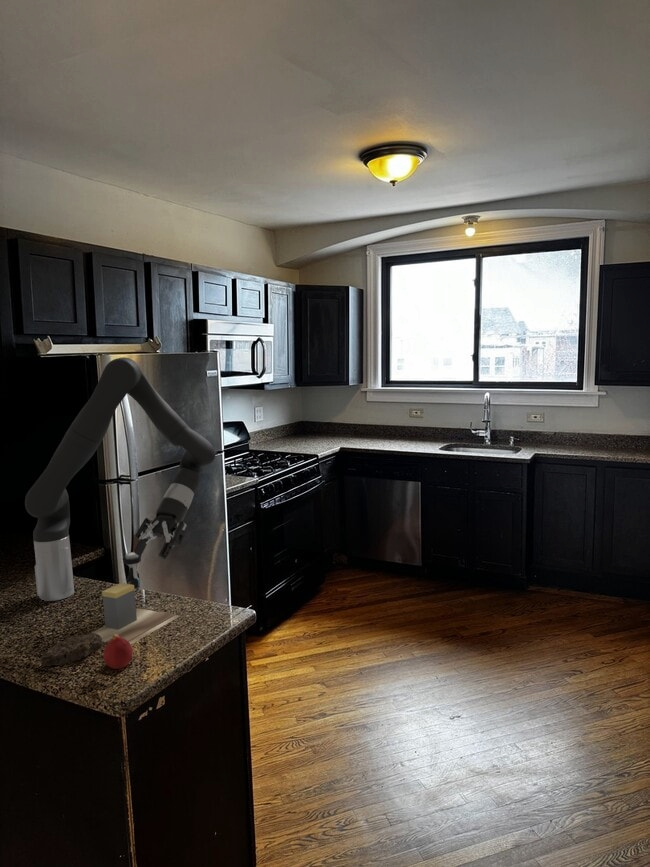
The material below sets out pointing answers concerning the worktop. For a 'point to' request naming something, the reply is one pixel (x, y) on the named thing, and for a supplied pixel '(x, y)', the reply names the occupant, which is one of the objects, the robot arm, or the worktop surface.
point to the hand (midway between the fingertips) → (149, 556)
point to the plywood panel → (138, 626)
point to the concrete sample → (71, 649)
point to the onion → (118, 653)
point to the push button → (132, 568)
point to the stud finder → (119, 606)
